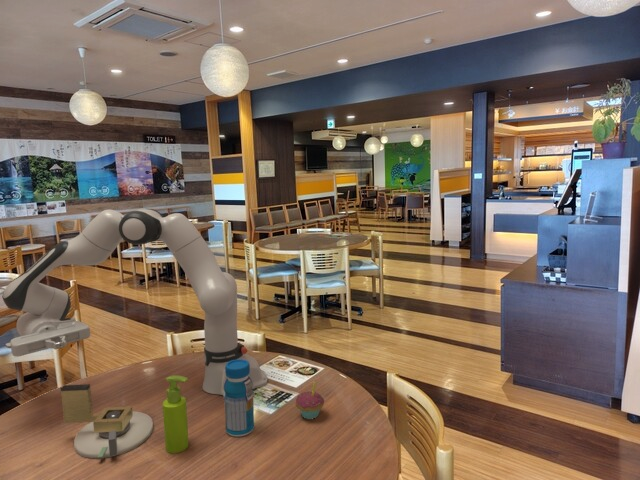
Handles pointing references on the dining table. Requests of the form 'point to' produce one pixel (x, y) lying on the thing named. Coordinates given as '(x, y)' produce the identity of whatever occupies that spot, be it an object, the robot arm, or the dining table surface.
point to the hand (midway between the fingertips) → (60, 345)
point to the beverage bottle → (238, 398)
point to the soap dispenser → (175, 417)
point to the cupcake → (309, 403)
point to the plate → (123, 442)
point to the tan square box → (106, 434)
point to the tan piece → (80, 410)
